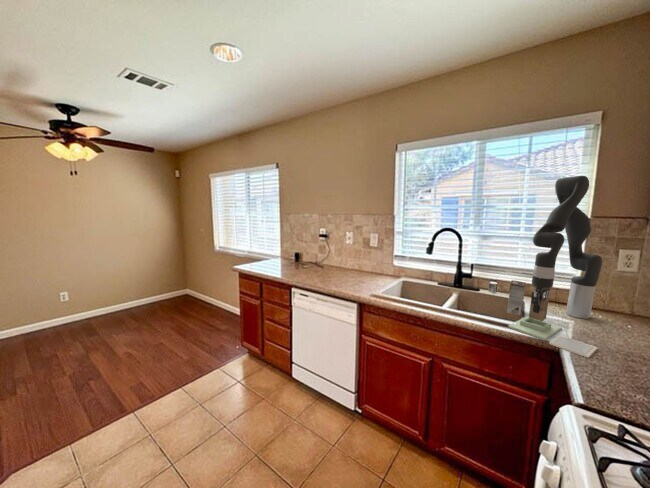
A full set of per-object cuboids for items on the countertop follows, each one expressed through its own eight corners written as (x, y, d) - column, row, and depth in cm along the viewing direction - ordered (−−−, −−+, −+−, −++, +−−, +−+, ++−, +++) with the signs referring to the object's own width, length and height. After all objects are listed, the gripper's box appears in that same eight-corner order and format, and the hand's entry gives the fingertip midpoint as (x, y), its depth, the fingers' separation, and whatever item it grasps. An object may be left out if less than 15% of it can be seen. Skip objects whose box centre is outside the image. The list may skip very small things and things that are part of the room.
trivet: (559, 336, 117) (559, 334, 117) (597, 349, 107) (597, 346, 107) (548, 343, 110) (549, 341, 110) (588, 358, 100) (588, 355, 100)
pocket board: (526, 317, 136) (527, 312, 135) (561, 329, 124) (562, 323, 123) (508, 327, 125) (509, 321, 124) (544, 340, 113) (545, 333, 113)
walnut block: (533, 314, 127) (535, 294, 125) (545, 318, 123) (548, 298, 121) (528, 317, 124) (531, 296, 123) (541, 321, 120) (544, 300, 118)
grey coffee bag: (507, 307, 149) (511, 279, 146) (522, 310, 145) (526, 282, 142) (506, 312, 142) (510, 283, 139) (521, 315, 138) (525, 286, 135)
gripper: (539, 271, 127) (534, 305, 130) (526, 276, 119) (522, 311, 122) (559, 275, 121) (554, 310, 124) (547, 280, 113) (542, 317, 116)
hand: (538, 310), depth 123 cm, fingers closed on walnut block, 5 cm apart
